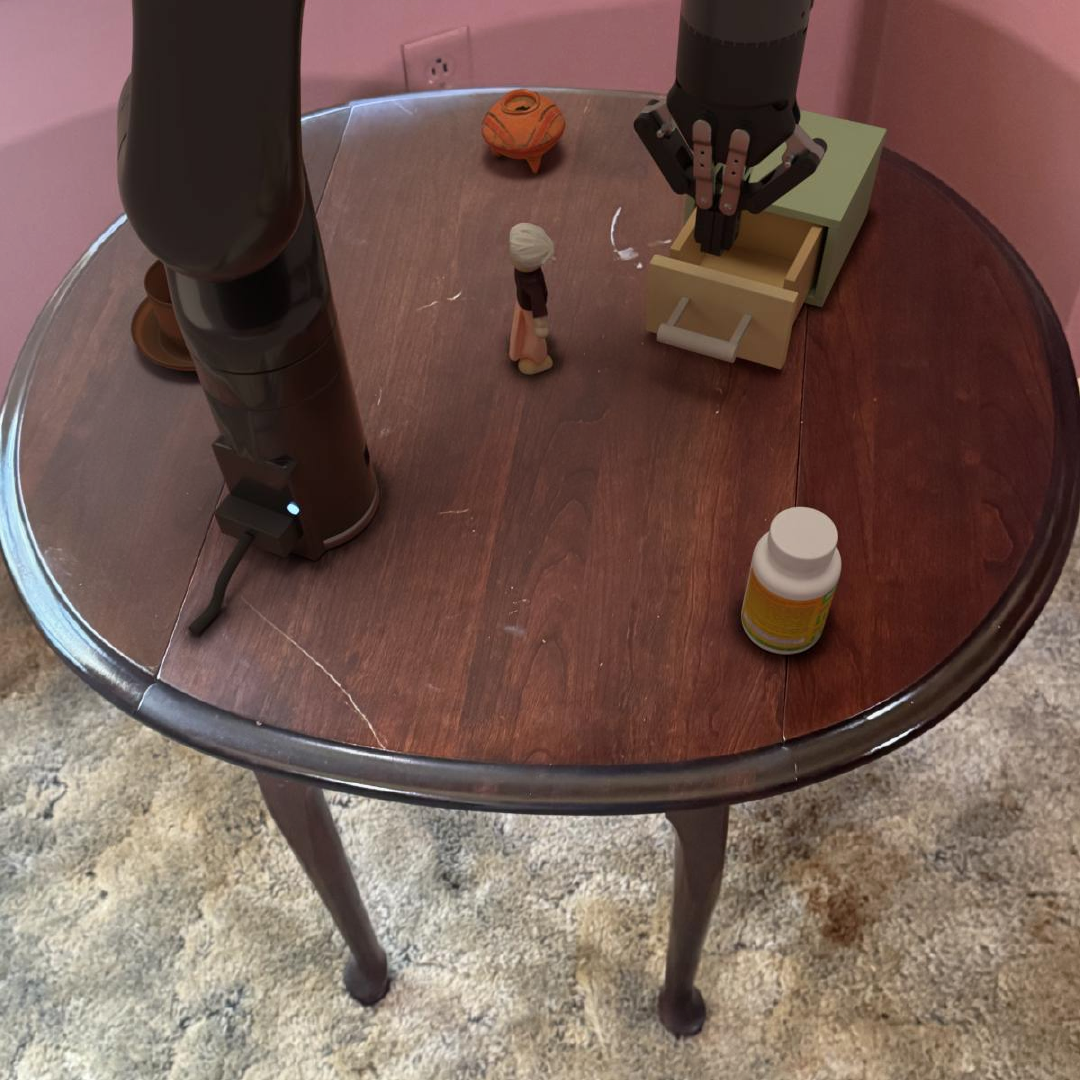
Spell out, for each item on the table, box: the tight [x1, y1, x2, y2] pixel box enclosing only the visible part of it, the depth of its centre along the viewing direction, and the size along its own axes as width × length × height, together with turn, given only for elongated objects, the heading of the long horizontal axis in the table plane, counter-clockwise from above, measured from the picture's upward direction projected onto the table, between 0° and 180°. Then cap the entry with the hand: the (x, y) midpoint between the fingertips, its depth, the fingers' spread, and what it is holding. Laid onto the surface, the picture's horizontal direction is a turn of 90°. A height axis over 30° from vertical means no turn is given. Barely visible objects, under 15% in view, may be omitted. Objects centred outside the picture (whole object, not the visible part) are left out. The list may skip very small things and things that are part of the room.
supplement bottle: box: [740, 506, 842, 655], centre depth 70 cm, size 5×5×10 cm
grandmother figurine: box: [508, 222, 555, 375], centre depth 85 cm, size 8×4×13 cm, turn 21°
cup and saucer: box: [130, 259, 196, 372], centre depth 90 cm, size 12×12×6 cm
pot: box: [481, 88, 567, 174], centre depth 105 cm, size 8×8×7 cm
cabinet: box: [683, 109, 888, 308], centre depth 94 cm, size 14×13×9 cm
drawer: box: [645, 206, 829, 370], centre depth 88 cm, size 17×11×7 cm, turn 154°
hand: (715, 247), depth 78 cm, fingers closed
